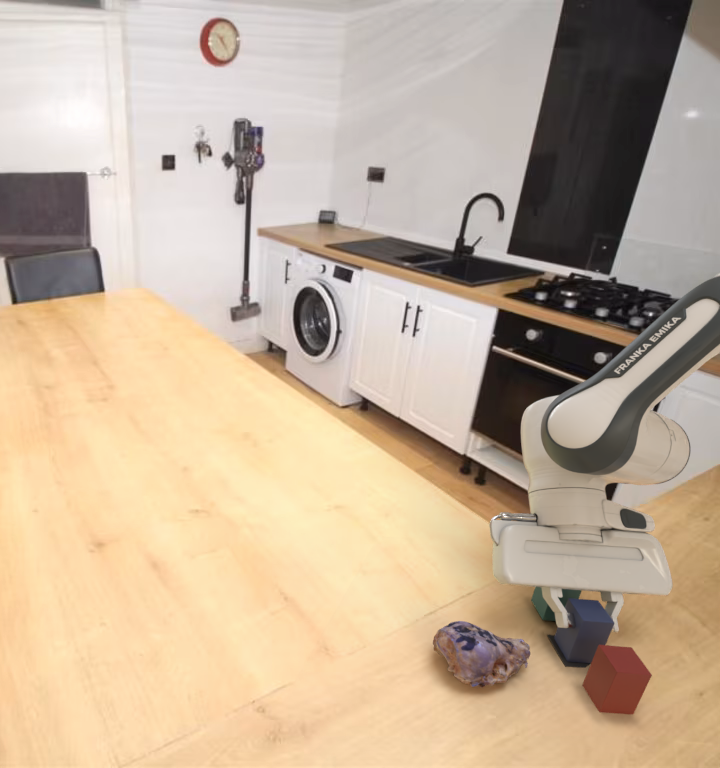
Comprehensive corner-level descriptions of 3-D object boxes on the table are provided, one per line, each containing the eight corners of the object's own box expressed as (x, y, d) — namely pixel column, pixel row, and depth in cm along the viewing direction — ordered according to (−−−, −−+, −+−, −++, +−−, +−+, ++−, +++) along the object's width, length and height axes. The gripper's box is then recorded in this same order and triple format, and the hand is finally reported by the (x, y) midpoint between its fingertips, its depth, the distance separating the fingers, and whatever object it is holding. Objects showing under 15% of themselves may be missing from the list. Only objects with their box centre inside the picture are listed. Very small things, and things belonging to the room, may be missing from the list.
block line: (561, 602, 77) (575, 564, 74) (637, 719, 61) (658, 675, 58) (526, 599, 77) (538, 561, 74) (592, 714, 61) (611, 671, 59)
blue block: (582, 640, 71) (598, 600, 68) (597, 664, 67) (615, 623, 64) (553, 638, 71) (568, 597, 68) (567, 661, 68) (583, 620, 65)
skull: (513, 639, 71) (525, 606, 68) (545, 696, 64) (560, 663, 61) (421, 639, 71) (429, 606, 68) (443, 696, 64) (453, 663, 61)
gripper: (498, 507, 70) (511, 623, 65) (667, 518, 68) (694, 639, 63) (478, 514, 76) (489, 621, 71) (633, 524, 74) (656, 635, 69)
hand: (587, 630), depth 67 cm, fingers closed on blue block, 3 cm apart
